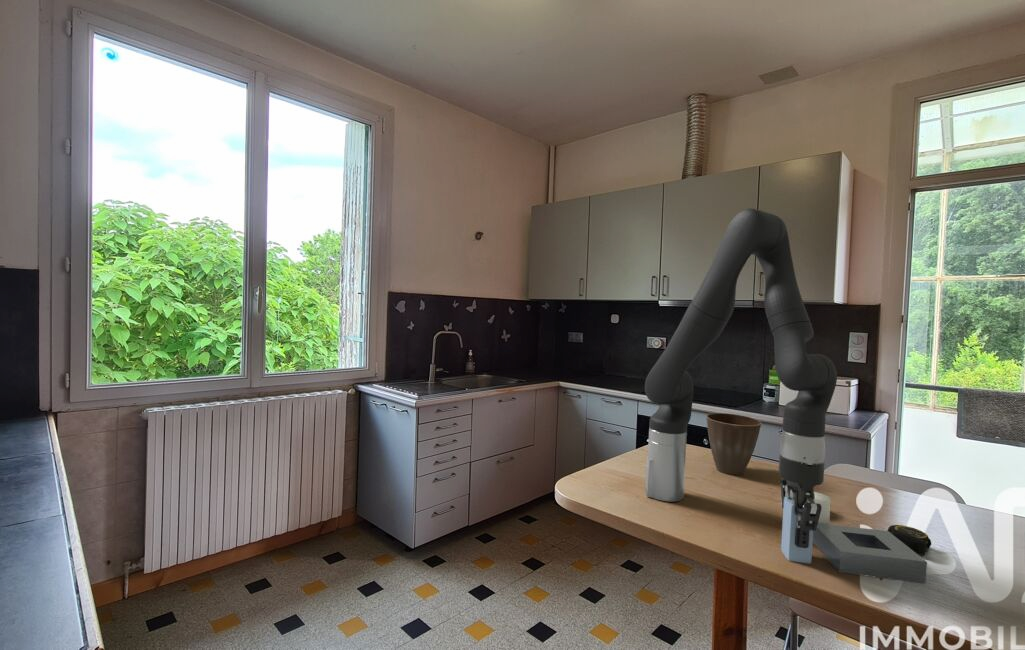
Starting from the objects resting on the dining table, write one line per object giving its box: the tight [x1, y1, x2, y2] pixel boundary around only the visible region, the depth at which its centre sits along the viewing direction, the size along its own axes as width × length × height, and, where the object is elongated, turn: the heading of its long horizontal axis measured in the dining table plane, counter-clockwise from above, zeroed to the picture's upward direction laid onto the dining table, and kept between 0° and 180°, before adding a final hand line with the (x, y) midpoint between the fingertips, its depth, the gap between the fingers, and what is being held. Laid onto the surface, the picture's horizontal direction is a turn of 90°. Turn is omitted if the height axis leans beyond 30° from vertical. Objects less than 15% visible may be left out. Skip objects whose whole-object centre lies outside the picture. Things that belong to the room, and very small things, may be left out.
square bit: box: [780, 497, 813, 565], centre depth 92 cm, size 4×4×11 cm
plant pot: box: [706, 412, 762, 476], centre depth 141 cm, size 15×15×16 cm
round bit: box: [814, 491, 832, 524], centre depth 104 cm, size 6×6×8 cm
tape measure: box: [886, 524, 932, 557], centre depth 98 cm, size 7×7×4 cm
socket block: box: [812, 523, 928, 584], centre depth 92 cm, size 14×12×4 cm
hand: (796, 540), depth 92 cm, fingers closed on square bit, 4 cm apart
